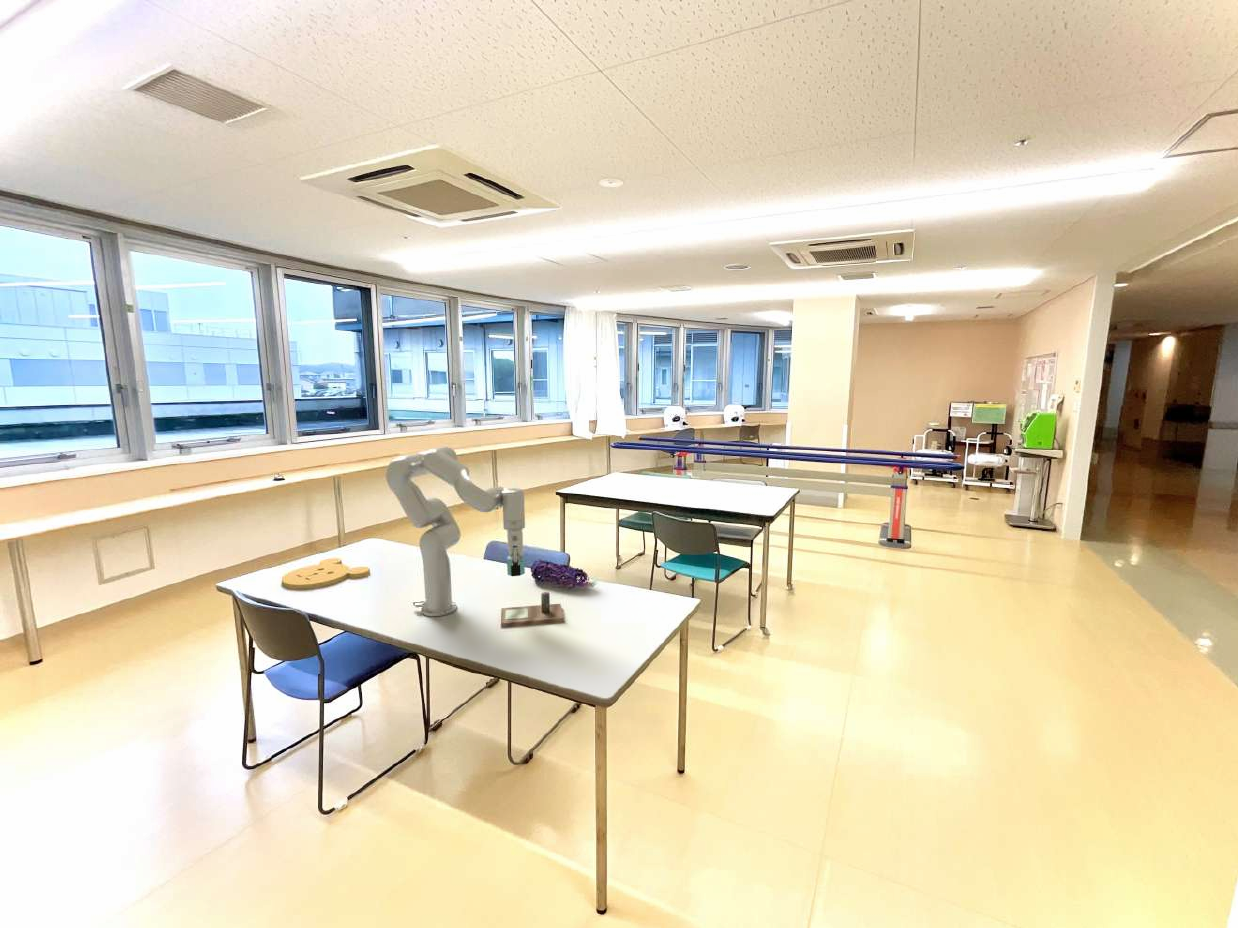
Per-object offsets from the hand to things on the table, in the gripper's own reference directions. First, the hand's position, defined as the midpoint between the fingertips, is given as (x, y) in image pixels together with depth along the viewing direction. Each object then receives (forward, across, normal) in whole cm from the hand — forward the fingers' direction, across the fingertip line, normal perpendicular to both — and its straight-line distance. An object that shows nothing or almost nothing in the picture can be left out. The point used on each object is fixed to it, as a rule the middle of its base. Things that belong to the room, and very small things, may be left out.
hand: (515, 571), depth 192 cm
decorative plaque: (+18, +59, +84) cm, 104 cm away
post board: (+18, 0, -5) cm, 18 cm away
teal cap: (0, 0, 0) cm, 0 cm away
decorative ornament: (+18, +28, -20) cm, 39 cm away
